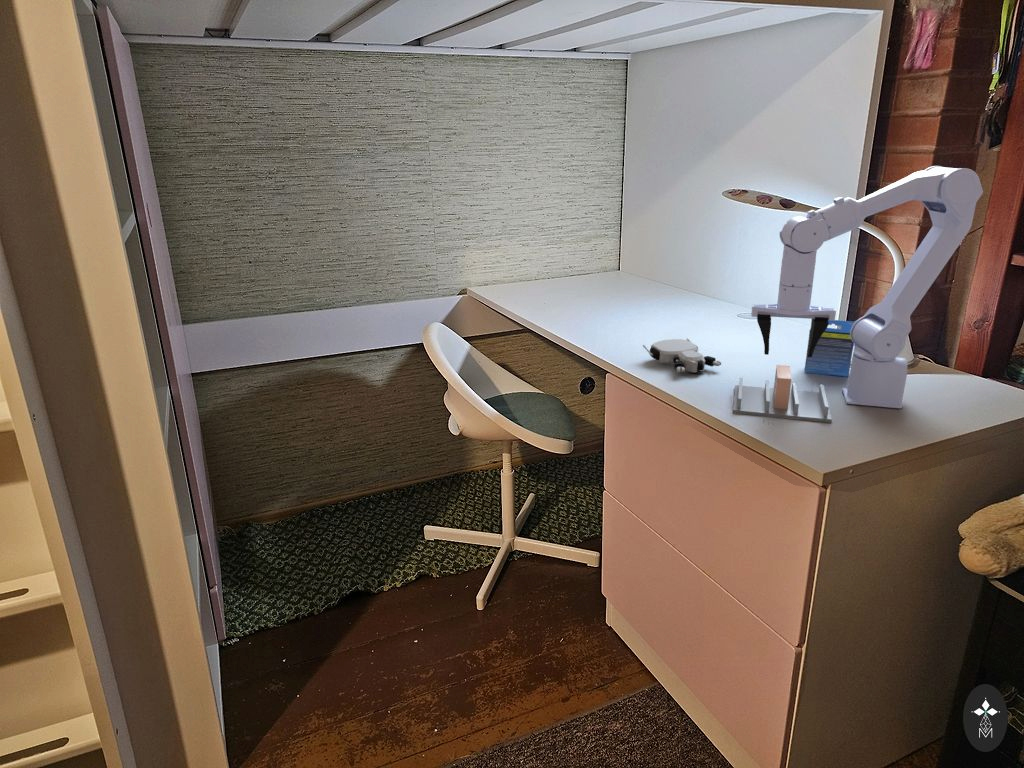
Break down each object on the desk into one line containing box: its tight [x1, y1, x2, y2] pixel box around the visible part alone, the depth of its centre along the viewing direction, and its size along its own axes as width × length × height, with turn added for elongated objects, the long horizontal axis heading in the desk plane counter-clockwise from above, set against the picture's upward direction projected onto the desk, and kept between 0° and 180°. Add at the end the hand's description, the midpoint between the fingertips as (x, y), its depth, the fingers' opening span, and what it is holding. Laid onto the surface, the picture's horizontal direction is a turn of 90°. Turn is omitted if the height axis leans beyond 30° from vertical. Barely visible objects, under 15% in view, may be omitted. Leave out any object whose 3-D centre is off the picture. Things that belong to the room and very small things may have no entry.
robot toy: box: [642, 337, 722, 373], centre depth 155 cm, size 12×4×15 cm
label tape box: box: [804, 319, 856, 378], centre depth 147 cm, size 9×4×12 cm, turn 66°
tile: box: [773, 364, 792, 409], centre depth 132 cm, size 2×8×6 cm, turn 162°
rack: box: [732, 377, 833, 423], centre depth 132 cm, size 17×14×3 cm
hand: (787, 354), depth 132 cm, fingers open, 7 cm apart
